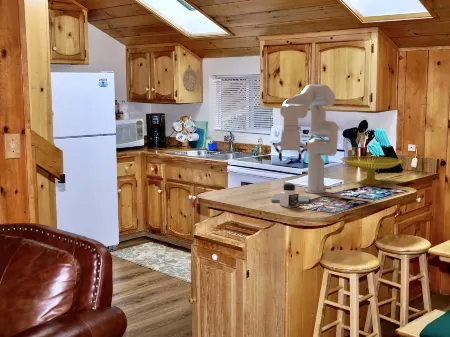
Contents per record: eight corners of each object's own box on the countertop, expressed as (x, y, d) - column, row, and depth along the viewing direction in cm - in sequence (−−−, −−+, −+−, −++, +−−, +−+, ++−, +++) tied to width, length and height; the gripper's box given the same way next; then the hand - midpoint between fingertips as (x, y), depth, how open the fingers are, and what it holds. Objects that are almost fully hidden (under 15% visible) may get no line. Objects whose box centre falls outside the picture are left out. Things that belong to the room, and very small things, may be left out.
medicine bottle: (288, 207, 311) (289, 185, 310) (279, 205, 317) (279, 183, 315) (298, 206, 316) (299, 183, 314) (289, 203, 321) (290, 182, 319)
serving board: (309, 198, 335) (309, 196, 335) (308, 203, 321) (308, 201, 321) (273, 197, 338) (273, 194, 338) (271, 202, 325) (271, 199, 325)
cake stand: (396, 190, 364) (397, 165, 362) (332, 184, 382) (332, 161, 379) (407, 180, 400) (408, 158, 398) (347, 175, 418) (348, 154, 415)
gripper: (307, 128, 312) (306, 160, 315) (274, 127, 315) (274, 159, 318) (307, 129, 305) (306, 162, 308) (273, 128, 308) (272, 161, 310)
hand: (289, 161), depth 313 cm, fingers open, 9 cm apart
